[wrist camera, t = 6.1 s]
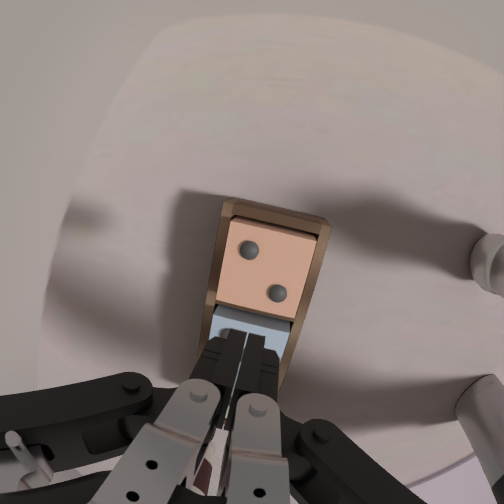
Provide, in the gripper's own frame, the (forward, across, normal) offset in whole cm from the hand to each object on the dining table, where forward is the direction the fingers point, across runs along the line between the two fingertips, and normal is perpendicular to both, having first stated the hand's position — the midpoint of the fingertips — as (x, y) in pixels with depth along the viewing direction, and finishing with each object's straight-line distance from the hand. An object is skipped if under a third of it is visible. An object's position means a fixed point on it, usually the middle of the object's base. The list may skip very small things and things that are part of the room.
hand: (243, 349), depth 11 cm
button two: (+13, 0, 0) cm, 13 cm away
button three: (+13, 0, +8) cm, 15 cm away
